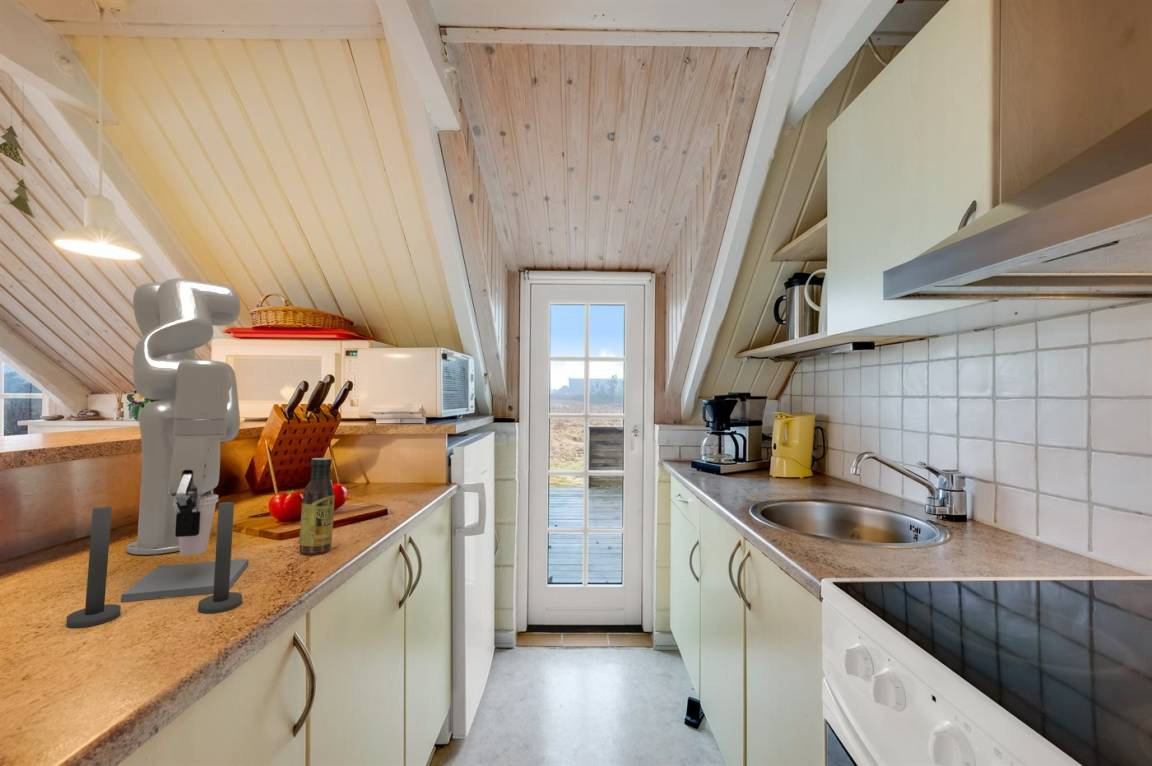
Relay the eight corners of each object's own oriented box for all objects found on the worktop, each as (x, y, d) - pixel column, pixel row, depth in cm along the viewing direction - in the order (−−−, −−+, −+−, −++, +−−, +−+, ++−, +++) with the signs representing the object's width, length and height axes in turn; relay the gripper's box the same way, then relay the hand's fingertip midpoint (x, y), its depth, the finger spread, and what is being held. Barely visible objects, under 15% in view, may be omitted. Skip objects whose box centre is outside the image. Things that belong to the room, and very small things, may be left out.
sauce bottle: (317, 557, 100) (322, 461, 101) (291, 554, 102) (296, 459, 102) (338, 548, 107) (343, 457, 108) (314, 545, 108) (318, 456, 109)
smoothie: (163, 559, 81) (168, 476, 82) (177, 548, 87) (181, 470, 88) (210, 555, 84) (214, 474, 84) (220, 545, 90) (224, 469, 90)
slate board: (159, 572, 89) (159, 565, 89) (248, 565, 95) (248, 558, 95) (120, 602, 76) (121, 594, 76) (226, 591, 82) (227, 584, 82)
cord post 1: (79, 613, 72) (88, 505, 73) (127, 608, 74) (135, 503, 75) (56, 630, 67) (66, 513, 68) (108, 624, 69) (117, 511, 70)
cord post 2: (205, 600, 78) (211, 500, 78) (246, 596, 80) (251, 499, 81) (192, 615, 73) (198, 508, 73) (236, 610, 75) (242, 506, 75)
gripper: (192, 426, 93) (187, 521, 92) (152, 432, 77) (145, 546, 76) (238, 426, 96) (233, 518, 95) (209, 432, 80) (203, 542, 79)
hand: (194, 529), depth 86 cm, fingers closed on smoothie, 6 cm apart
